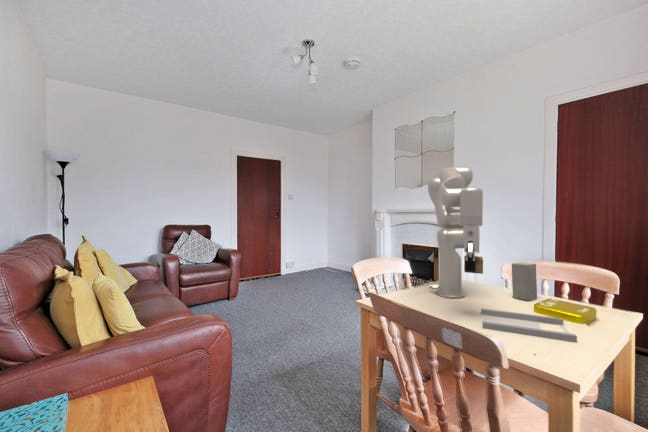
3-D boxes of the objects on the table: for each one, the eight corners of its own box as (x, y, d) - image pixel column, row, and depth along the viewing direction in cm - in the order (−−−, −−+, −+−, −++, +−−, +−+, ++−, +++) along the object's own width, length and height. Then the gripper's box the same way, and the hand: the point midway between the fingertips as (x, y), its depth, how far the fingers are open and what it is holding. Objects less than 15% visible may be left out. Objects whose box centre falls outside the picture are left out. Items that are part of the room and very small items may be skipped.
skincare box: (527, 301, 122) (527, 265, 122) (510, 297, 129) (510, 262, 128) (538, 298, 126) (538, 263, 126) (521, 294, 133) (520, 260, 132)
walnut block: (464, 272, 104) (464, 258, 104) (464, 268, 110) (464, 255, 110) (482, 273, 102) (483, 260, 102) (481, 269, 107) (482, 256, 107)
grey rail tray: (482, 331, 94) (482, 322, 94) (481, 316, 107) (481, 308, 107) (576, 346, 83) (576, 336, 83) (562, 327, 96) (562, 318, 96)
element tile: (583, 329, 95) (583, 315, 95) (531, 316, 108) (531, 303, 107) (598, 319, 103) (598, 306, 103) (548, 308, 116) (548, 296, 115)
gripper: (482, 223, 96) (482, 276, 97) (482, 219, 111) (481, 265, 112) (458, 223, 99) (458, 273, 100) (460, 219, 114) (460, 263, 116)
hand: (470, 268), depth 106 cm, fingers closed on walnut block, 6 cm apart
